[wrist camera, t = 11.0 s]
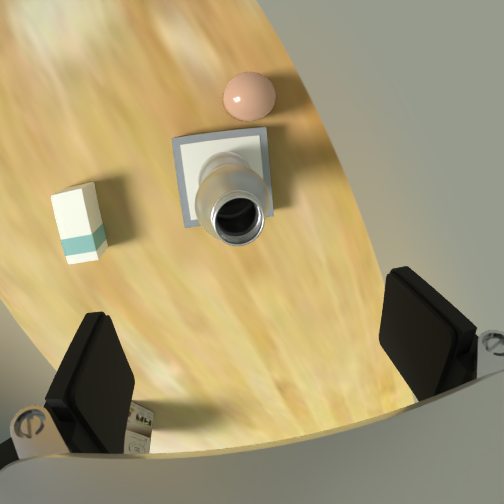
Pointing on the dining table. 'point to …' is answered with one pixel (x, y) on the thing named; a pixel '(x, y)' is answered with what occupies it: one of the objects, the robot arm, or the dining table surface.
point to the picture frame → (207, 144)
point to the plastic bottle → (231, 199)
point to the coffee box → (138, 430)
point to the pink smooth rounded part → (249, 96)
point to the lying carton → (79, 223)
